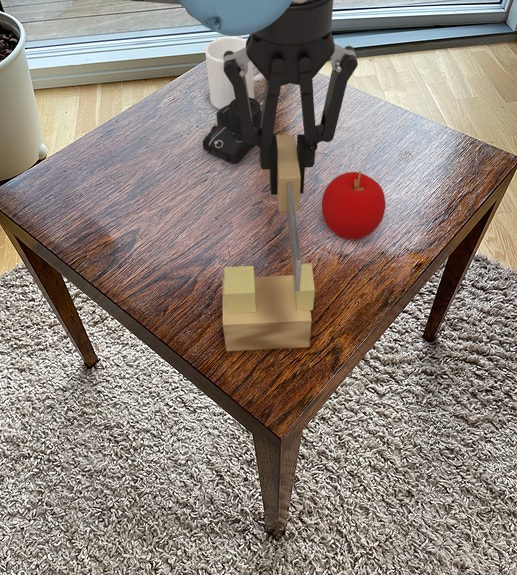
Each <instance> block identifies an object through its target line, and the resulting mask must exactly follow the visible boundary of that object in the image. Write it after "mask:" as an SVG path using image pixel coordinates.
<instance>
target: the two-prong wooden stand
mask: <svg viewBox="0 0 517 575" xmlns="http://www.w3.org/2000/svg"><path fill="white" fill-rule="evenodd" d="M254 280H255V300H256V312H253V313H234V314H227V311H226V303H225V294H224V278H222V330H223V336H224V344H225V351H226V352H238V351H239V352H240V351H241V352H242V351H260V350H261V351H262V350H278V349H297V348H298V349H299V348H310V346H311V331H312V322H313V321H312V320H313V319H312V312H311V311H312V310H303V311H297V310H296V300H295V289H294V276H293V274H289V275H287V274H286V275H269V276H268V275H267V276H254Z"/></svg>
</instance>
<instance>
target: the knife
mask: <svg viewBox="0 0 517 575" xmlns="http://www.w3.org/2000/svg"><path fill="white" fill-rule="evenodd" d="M275 135H276V137H277V148H278V164H277V195H276V197H277V199H276V200H277V209H278V210H277V211H278V212H279V213H284V212H286V217H287V226H288V237H289V245H290V256H291V265H292V266H291V267H292V275H293V276H294V285H295V291H300V280H301V264H302V253H301V245H300V244H301V243H300V237H299V228H298V221H297V220H298V219H297V212H299V211H300V203H301V194H300V183H301V175H300V168H299V162H298V154H297V137H296V134H295V133H293V134H275Z"/></svg>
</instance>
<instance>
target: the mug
mask: <svg viewBox="0 0 517 575" xmlns="http://www.w3.org/2000/svg"><path fill="white" fill-rule="evenodd" d="M246 41H247V39H244V38H242V37H240V36H222V37H218V38H216V39H214V40H212V41H210V42H209V43H208V44H207V45H206V47H205V48H204V52H205V53H204V54H205V61H206V71H207V72H206V73H207V79H208V80H207V81H208V91H209V98H210V100H209V101H210V103H211V105H212V106H213V107H214V108H216V109H218V110H220V109H221V108H223V107H225V106H227V105H229V104H230V103H231V101H233V100H234V99H235V94H234V89H233V85H232V84H231V82H230V81H229V79H228V77H227V76H226V74H225V73H224V65H223V56H224V53H225V52H226V51H232V52H234V53H235V52H237V51H239V50H241V49H243V48H245V47H246ZM245 78H246V84H247V89H248V95H249V97H250V98H253V99H255V83H256V82H260V81H262V80H263V79H265V77H264V76H263V75H262V74H261V73H260V72H259V73H258V74H256V75H254V64H253V63H252V62H251V61H249V62H248V72H247V74H245Z"/></svg>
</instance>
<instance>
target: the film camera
mask: <svg viewBox="0 0 517 575" xmlns="http://www.w3.org/2000/svg"><path fill="white" fill-rule="evenodd" d="M249 101H250V107H251V113H252V119H253V124H254V127H256V128H259V127H260V123H261V115H262V109H261V108H262V107H261V104H260V102H259V101H258V100H256V99H255V98H254V99H253V98H250V97H249ZM254 147H256V145H255V144H253V145H250V146H248V145H246V144H244V141H243V135H242V130H241V125H240V120H239V115H238V110H237V104H236V99H234V100H233V101H231V103H230V104H229V105H227V106H225V107H223V108H221V109H218V110H217V112H216V124H215V125H213V126H212V127H211V128H210V131H209V132H208V134H206V136H204V138H203V140H202V149H203V150H204V151H206V152H208V153H209V154H212V155H214V156H217V157H219V158H221V159H223V160H225V161H226V162H230V163H232V164H235V165H236V164H239V163H240V162H241V160H243V158H245V157H246V155H247V154H248V153H249V152H250V151H251V150H252V149H253V148H254Z"/></svg>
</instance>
